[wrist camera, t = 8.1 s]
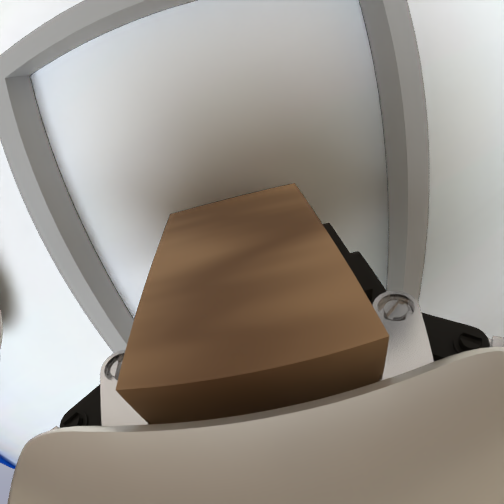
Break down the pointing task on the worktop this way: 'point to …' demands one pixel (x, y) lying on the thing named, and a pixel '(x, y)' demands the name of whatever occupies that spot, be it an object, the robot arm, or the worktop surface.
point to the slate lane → (62, 209)
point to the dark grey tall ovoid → (1, 329)
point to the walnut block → (248, 314)
